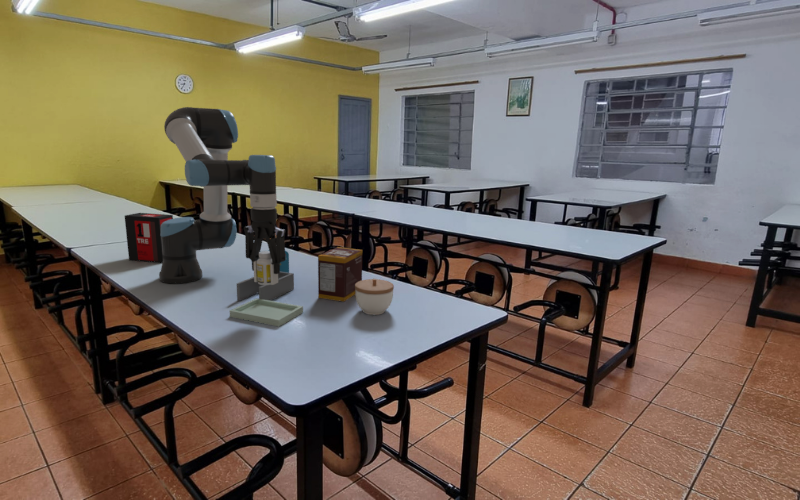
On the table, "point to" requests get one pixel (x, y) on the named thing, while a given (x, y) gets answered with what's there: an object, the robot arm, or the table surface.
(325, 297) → the supplement box
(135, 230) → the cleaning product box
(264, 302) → the tray
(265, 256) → the supplement bottle
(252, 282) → the bay
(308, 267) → the table surface
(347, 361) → the table surface
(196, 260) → the robot arm
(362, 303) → the lidded bowl
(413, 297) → the table surface
